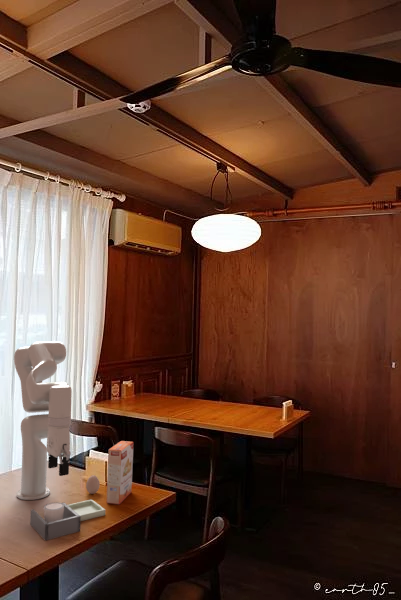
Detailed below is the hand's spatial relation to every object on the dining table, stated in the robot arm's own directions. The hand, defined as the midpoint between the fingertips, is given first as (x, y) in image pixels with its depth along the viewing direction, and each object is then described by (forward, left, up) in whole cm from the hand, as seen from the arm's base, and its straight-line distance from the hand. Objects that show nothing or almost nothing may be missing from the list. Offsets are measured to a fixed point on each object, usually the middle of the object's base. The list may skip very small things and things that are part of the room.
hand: (58, 471), depth 169 cm
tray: (-5, +12, -19) cm, 23 cm away
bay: (+2, -1, -19) cm, 19 cm away
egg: (-21, +23, -19) cm, 36 cm away
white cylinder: (0, -1, -19) cm, 19 cm away
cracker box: (-11, +30, -19) cm, 37 cm away
